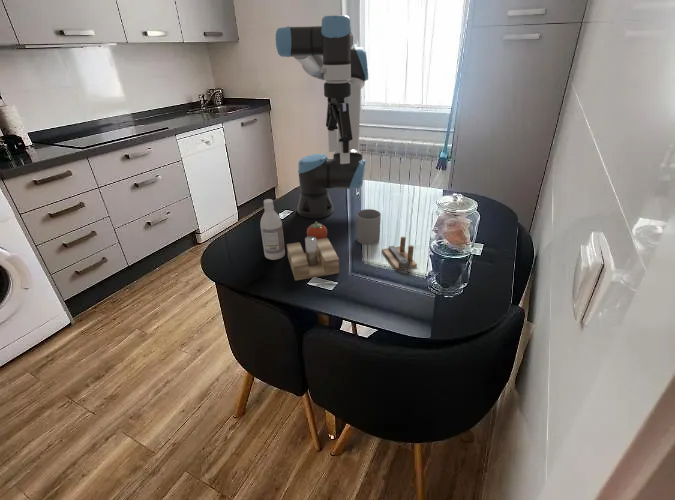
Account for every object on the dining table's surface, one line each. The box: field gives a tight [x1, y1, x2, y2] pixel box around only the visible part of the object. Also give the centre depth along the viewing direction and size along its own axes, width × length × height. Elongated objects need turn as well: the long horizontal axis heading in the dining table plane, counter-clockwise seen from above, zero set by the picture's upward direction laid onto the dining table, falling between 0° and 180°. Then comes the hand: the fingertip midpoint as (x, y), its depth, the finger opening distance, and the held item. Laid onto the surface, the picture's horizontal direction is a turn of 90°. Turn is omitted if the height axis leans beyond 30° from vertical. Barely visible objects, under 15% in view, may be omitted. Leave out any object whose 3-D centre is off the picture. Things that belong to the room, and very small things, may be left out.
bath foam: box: [259, 198, 286, 261], centre depth 118 cm, size 7×7×20 cm
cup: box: [356, 208, 382, 246], centre depth 129 cm, size 8×8×10 cm
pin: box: [304, 236, 318, 266], centre depth 114 cm, size 4×4×9 cm
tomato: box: [306, 220, 328, 240], centre depth 129 cm, size 7×7×8 cm
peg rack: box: [381, 236, 418, 271], centre depth 117 cm, size 13×7×6 cm, turn 15°
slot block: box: [286, 237, 340, 281], centre depth 116 cm, size 14×14×5 cm
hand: (338, 157), depth 111 cm, fingers open, 13 cm apart
